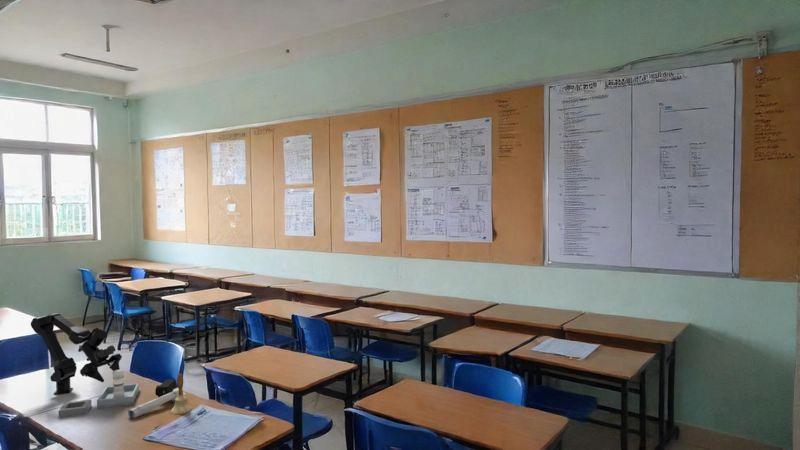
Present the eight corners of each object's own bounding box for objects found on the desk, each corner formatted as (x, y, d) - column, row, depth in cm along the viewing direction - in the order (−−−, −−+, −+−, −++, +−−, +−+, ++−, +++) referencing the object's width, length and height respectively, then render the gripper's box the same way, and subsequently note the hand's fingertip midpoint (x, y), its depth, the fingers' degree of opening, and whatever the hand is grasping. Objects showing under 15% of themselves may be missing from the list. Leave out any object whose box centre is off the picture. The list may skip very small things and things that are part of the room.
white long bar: (126, 408, 214) (179, 383, 235) (128, 423, 215) (181, 396, 236) (133, 411, 212) (186, 385, 232) (136, 426, 213) (188, 399, 233)
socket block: (65, 409, 224) (65, 402, 224) (91, 406, 227) (91, 399, 227) (58, 417, 215) (58, 410, 214) (85, 414, 218) (85, 407, 218)
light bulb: (111, 397, 235) (110, 371, 234) (121, 394, 238) (121, 368, 238) (115, 399, 232) (115, 373, 232) (126, 396, 236) (125, 370, 235)
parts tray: (105, 394, 241) (105, 386, 241) (138, 390, 246) (138, 383, 246) (97, 408, 224) (96, 400, 224) (132, 404, 229) (132, 396, 229)
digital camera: (164, 394, 242) (163, 379, 241) (176, 393, 242) (175, 379, 242) (155, 402, 231) (154, 387, 231) (167, 402, 232) (167, 386, 231)
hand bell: (183, 414, 217) (183, 377, 216) (166, 413, 219) (165, 376, 218) (195, 407, 225) (194, 371, 224) (178, 406, 227) (177, 370, 226)
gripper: (84, 346, 228) (104, 373, 225) (118, 336, 246) (137, 361, 243) (71, 362, 231) (90, 389, 228) (106, 351, 249) (124, 376, 246)
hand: (111, 378), depth 236 cm, fingers open, 9 cm apart
